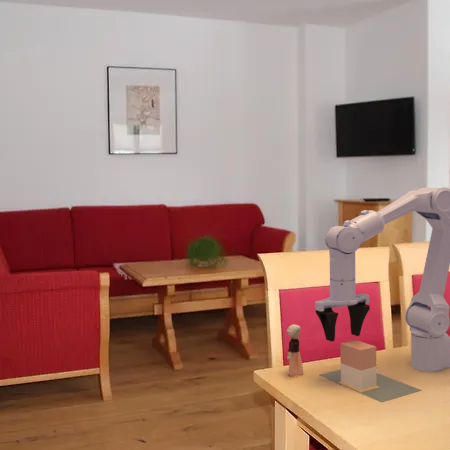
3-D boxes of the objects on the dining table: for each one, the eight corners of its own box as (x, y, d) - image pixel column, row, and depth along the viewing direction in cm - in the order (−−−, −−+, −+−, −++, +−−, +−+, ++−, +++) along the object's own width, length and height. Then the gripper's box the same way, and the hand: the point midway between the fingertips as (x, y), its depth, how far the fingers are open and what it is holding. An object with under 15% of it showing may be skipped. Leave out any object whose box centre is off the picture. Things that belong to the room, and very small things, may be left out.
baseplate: (357, 368, 144) (357, 365, 144) (422, 393, 127) (422, 389, 127) (319, 378, 138) (319, 374, 138) (381, 406, 121) (381, 401, 121)
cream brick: (356, 378, 135) (356, 359, 134) (376, 386, 129) (376, 366, 129) (340, 382, 132) (340, 362, 132) (360, 391, 127) (360, 370, 126)
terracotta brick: (355, 359, 134) (355, 339, 134) (376, 366, 129) (376, 346, 129) (340, 362, 132) (340, 343, 132) (360, 370, 127) (360, 350, 126)
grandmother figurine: (302, 382, 135) (301, 328, 134) (285, 382, 136) (284, 328, 135) (304, 371, 143) (303, 320, 142) (288, 371, 144) (287, 320, 142)
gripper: (329, 285, 126) (330, 347, 127) (378, 277, 133) (378, 336, 135) (308, 280, 132) (309, 339, 133) (357, 273, 139) (357, 329, 141)
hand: (343, 337), depth 134 cm, fingers open, 7 cm apart
